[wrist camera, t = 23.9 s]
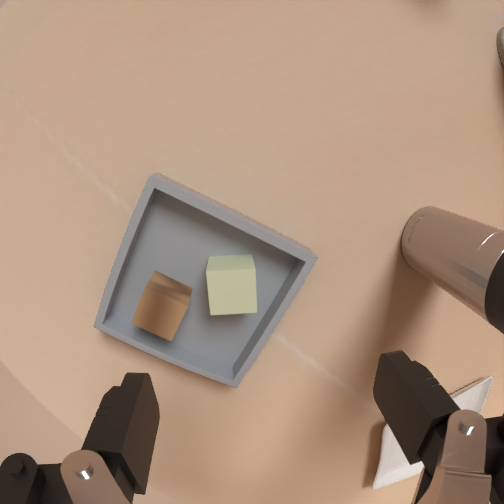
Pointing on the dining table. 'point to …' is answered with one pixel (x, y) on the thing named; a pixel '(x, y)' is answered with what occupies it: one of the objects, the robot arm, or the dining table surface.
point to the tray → (200, 279)
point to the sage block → (231, 284)
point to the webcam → (501, 44)
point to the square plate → (398, 467)
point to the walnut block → (162, 305)
